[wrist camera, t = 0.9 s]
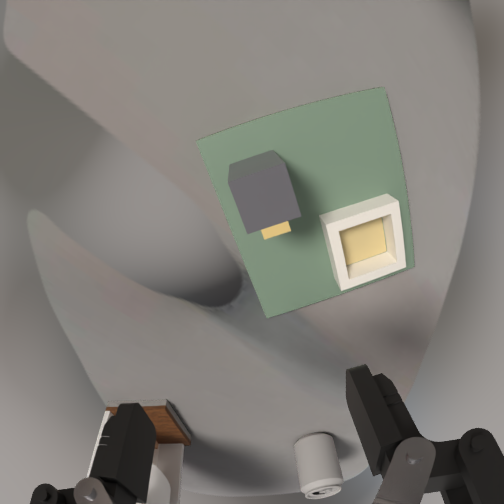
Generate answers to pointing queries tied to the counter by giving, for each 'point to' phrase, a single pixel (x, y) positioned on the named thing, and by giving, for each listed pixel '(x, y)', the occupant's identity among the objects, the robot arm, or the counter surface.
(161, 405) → the white tall box
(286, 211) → the plug
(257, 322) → the counter surface
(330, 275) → the board
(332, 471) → the can
